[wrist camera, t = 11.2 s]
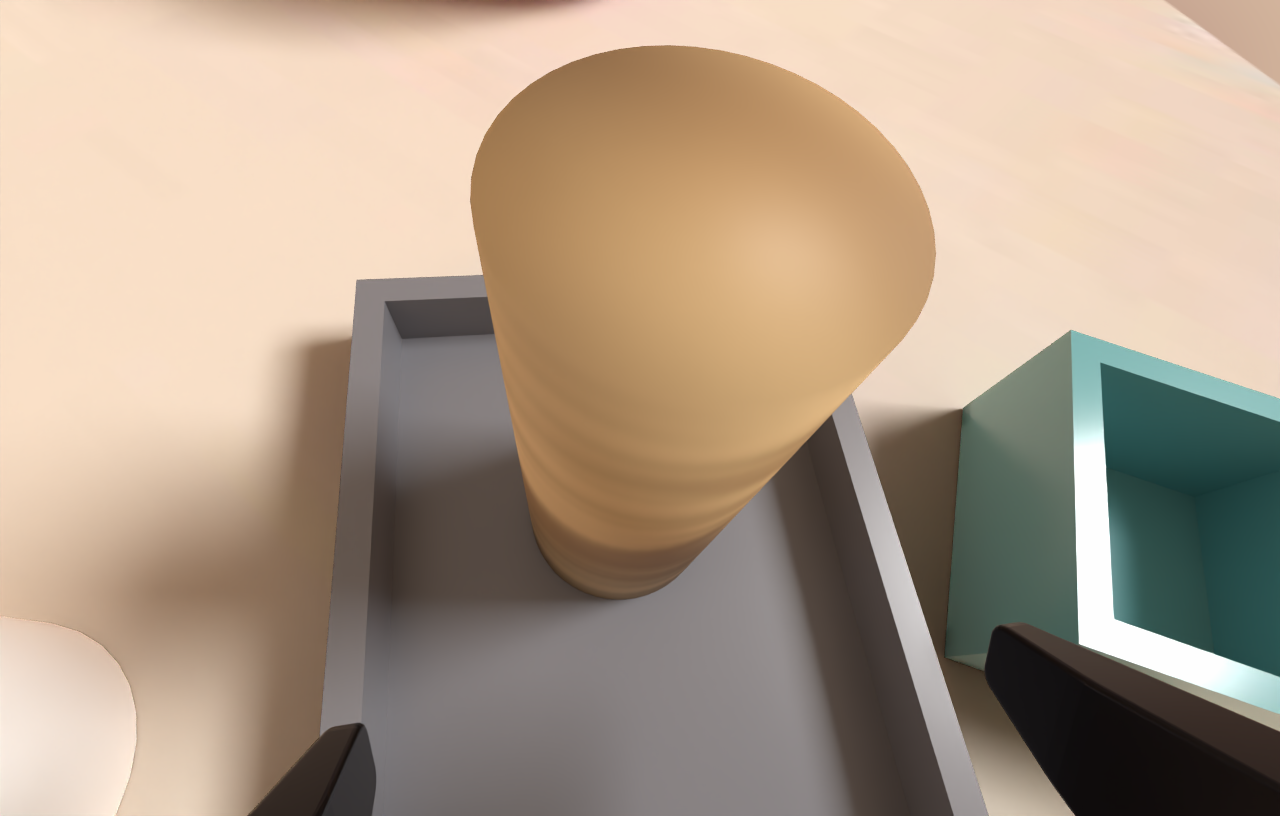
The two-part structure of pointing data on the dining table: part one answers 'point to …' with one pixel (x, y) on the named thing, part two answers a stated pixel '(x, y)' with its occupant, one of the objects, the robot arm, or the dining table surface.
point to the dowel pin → (683, 292)
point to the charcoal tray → (612, 619)
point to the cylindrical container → (62, 723)
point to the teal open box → (1124, 520)
